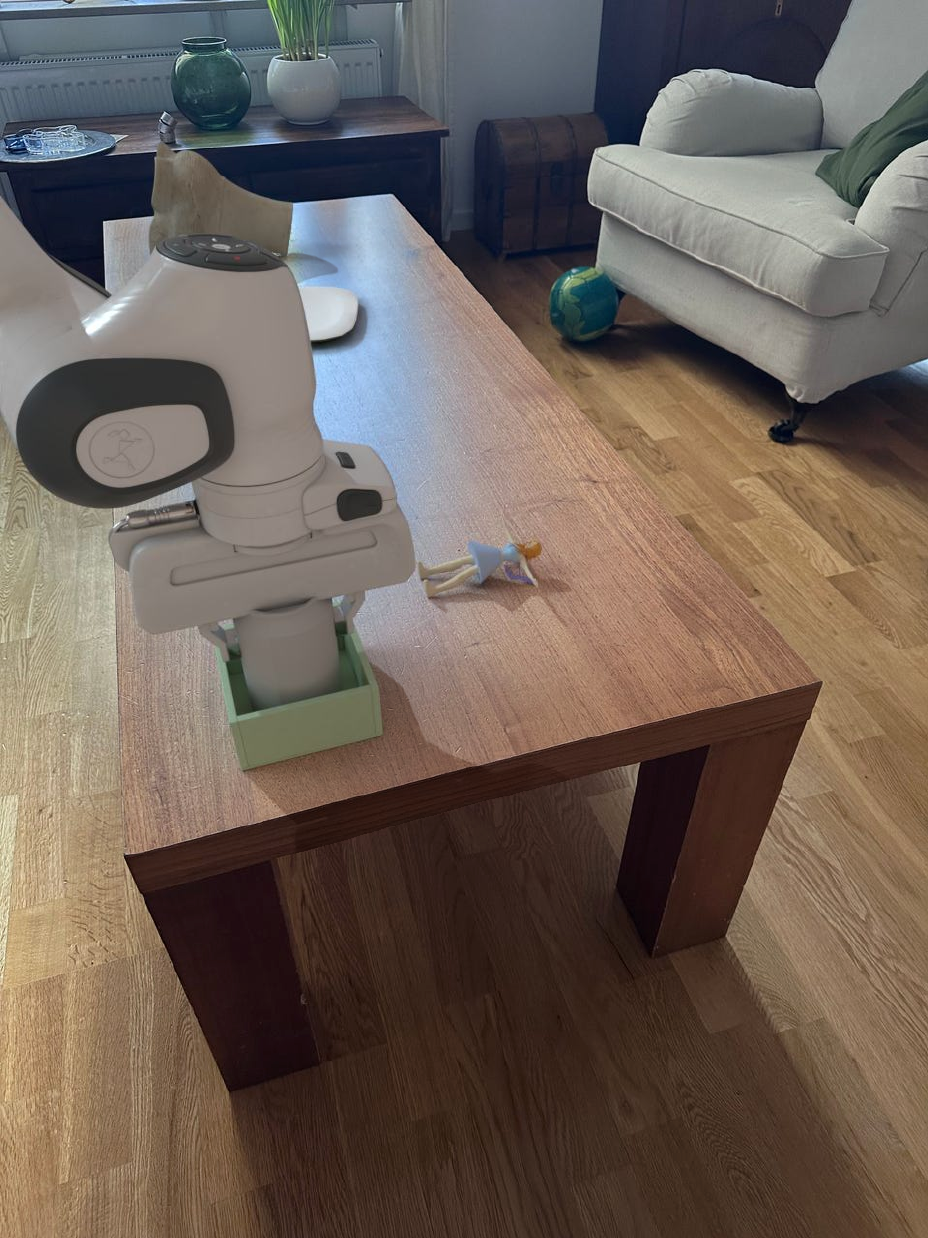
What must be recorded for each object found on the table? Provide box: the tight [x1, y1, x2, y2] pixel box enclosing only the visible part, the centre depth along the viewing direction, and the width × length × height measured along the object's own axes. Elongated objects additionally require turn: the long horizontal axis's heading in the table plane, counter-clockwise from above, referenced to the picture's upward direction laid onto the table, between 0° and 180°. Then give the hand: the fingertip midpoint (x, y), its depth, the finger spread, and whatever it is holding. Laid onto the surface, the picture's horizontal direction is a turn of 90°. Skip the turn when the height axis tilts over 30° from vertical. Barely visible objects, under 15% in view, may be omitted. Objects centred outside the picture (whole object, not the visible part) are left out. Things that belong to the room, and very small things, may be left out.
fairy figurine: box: [416, 516, 543, 598], centre depth 85 cm, size 12×5×12 cm
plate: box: [298, 285, 360, 343], centre depth 134 cm, size 22×22×2 cm
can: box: [231, 597, 343, 712], centre depth 69 cm, size 8×8×12 cm
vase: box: [147, 140, 294, 257], centre depth 151 cm, size 22×22×28 cm
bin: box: [213, 600, 384, 772], centre depth 71 cm, size 11×11×5 cm
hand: (288, 642), depth 68 cm, fingers closed on can, 7 cm apart
